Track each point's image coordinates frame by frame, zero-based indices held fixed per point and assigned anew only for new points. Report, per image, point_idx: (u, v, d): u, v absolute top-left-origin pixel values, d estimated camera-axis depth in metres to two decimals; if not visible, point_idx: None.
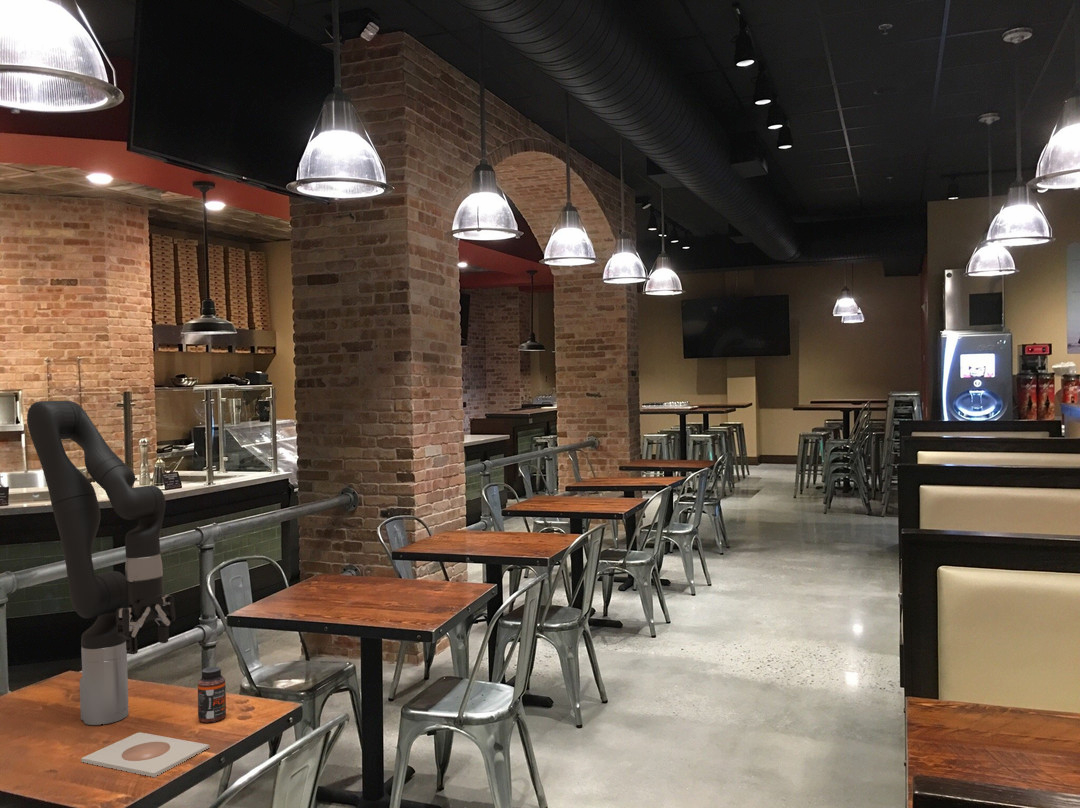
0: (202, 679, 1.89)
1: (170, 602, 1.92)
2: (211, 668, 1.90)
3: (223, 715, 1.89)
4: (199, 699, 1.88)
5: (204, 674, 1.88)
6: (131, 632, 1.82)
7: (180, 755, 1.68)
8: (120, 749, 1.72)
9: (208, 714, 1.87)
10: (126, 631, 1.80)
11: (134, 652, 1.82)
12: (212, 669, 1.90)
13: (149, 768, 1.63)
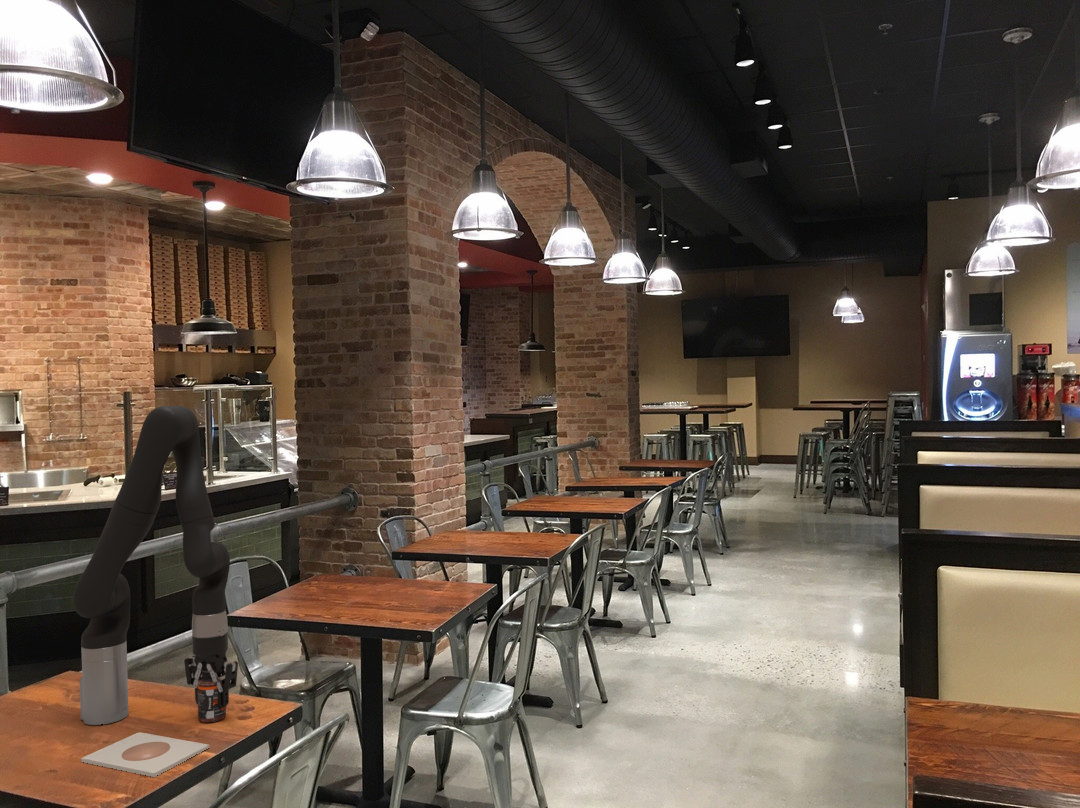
0: (202, 679, 1.89)
1: None
2: None
3: (223, 715, 1.89)
4: (199, 699, 1.88)
5: (204, 674, 1.88)
6: None
7: (180, 755, 1.68)
8: (120, 749, 1.72)
9: (208, 714, 1.87)
10: None
11: (226, 704, 1.89)
12: None
13: (149, 768, 1.63)
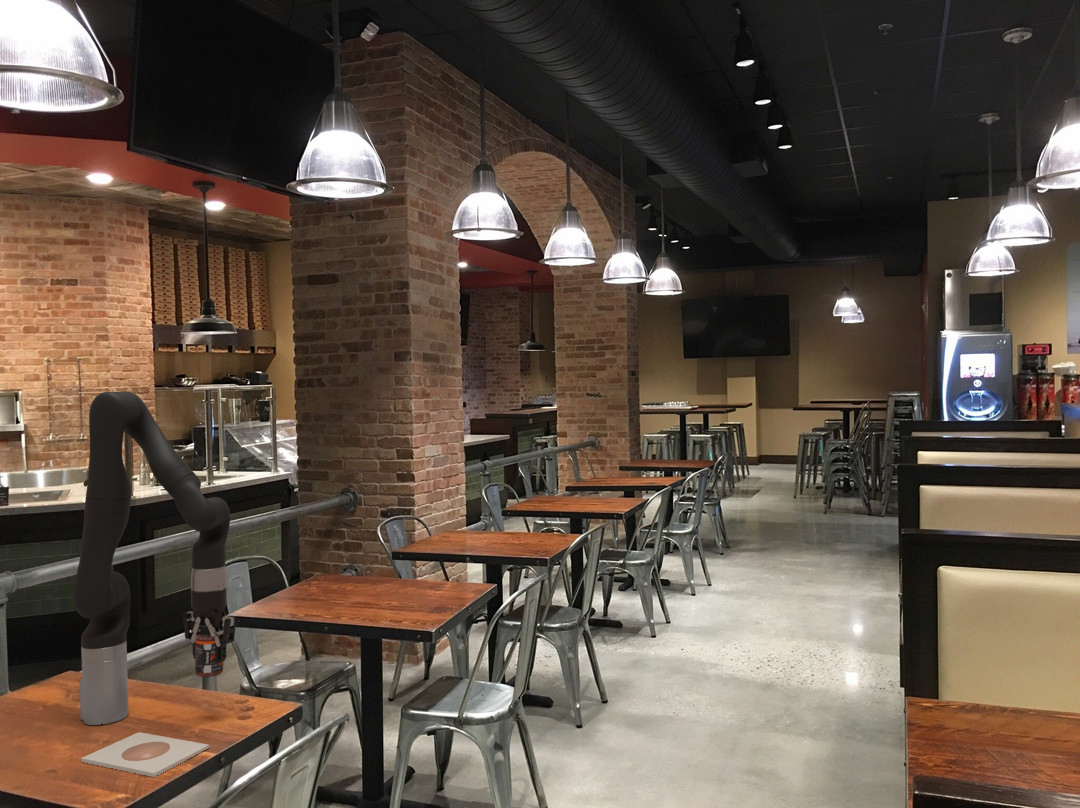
0: (200, 633, 1.89)
1: None
2: None
3: (220, 671, 1.89)
4: (197, 654, 1.88)
5: (202, 629, 1.88)
6: None
7: (180, 755, 1.68)
8: (120, 749, 1.72)
9: (206, 668, 1.87)
10: None
11: (224, 659, 1.89)
12: None
13: (149, 768, 1.63)
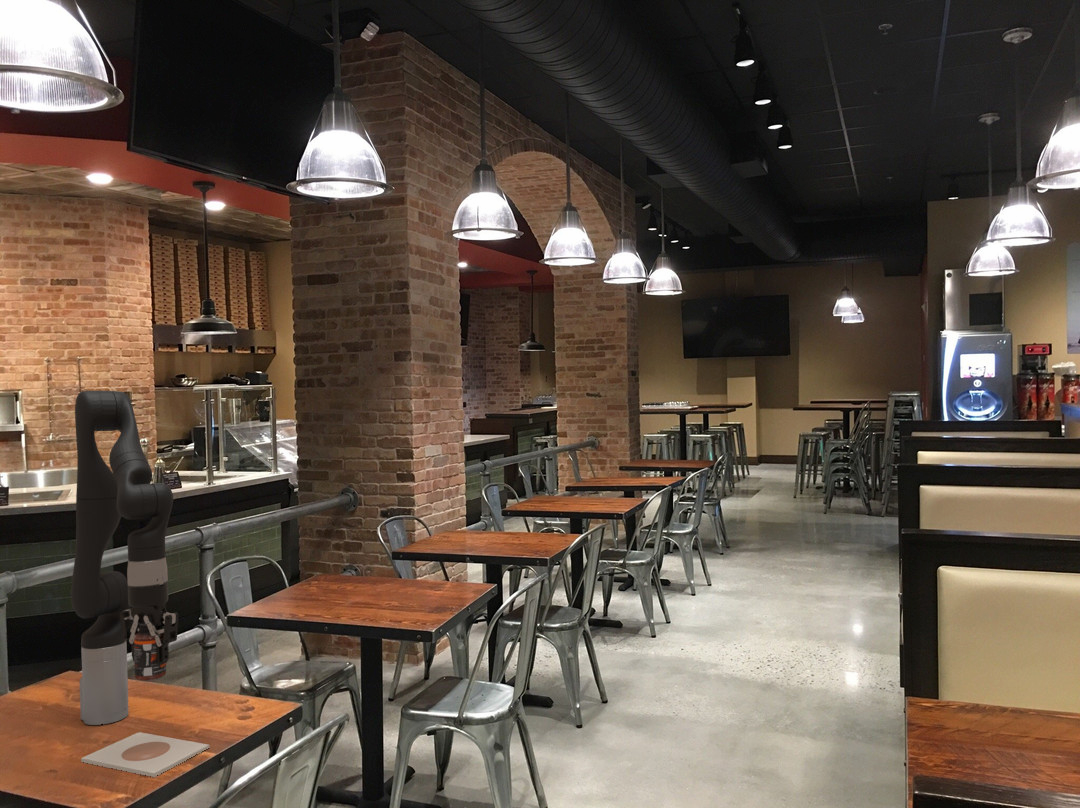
0: (139, 633, 1.71)
1: None
2: None
3: (162, 673, 1.72)
4: (136, 655, 1.70)
5: (141, 627, 1.71)
6: None
7: (180, 755, 1.68)
8: (120, 749, 1.72)
9: (146, 671, 1.69)
10: None
11: (166, 660, 1.72)
12: None
13: (149, 768, 1.63)
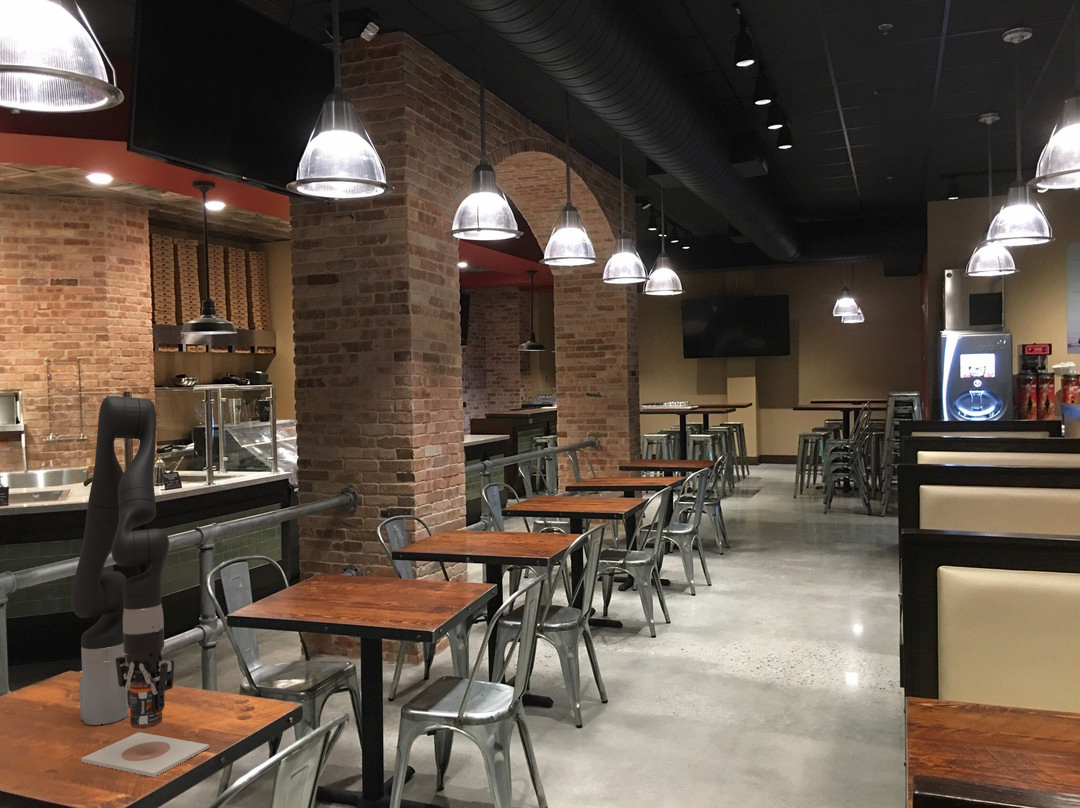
0: (135, 680, 1.70)
1: None
2: None
3: (158, 721, 1.70)
4: (131, 703, 1.69)
5: (137, 675, 1.69)
6: None
7: (180, 755, 1.68)
8: (120, 749, 1.72)
9: (141, 719, 1.68)
10: None
11: (162, 708, 1.70)
12: None
13: (149, 768, 1.63)
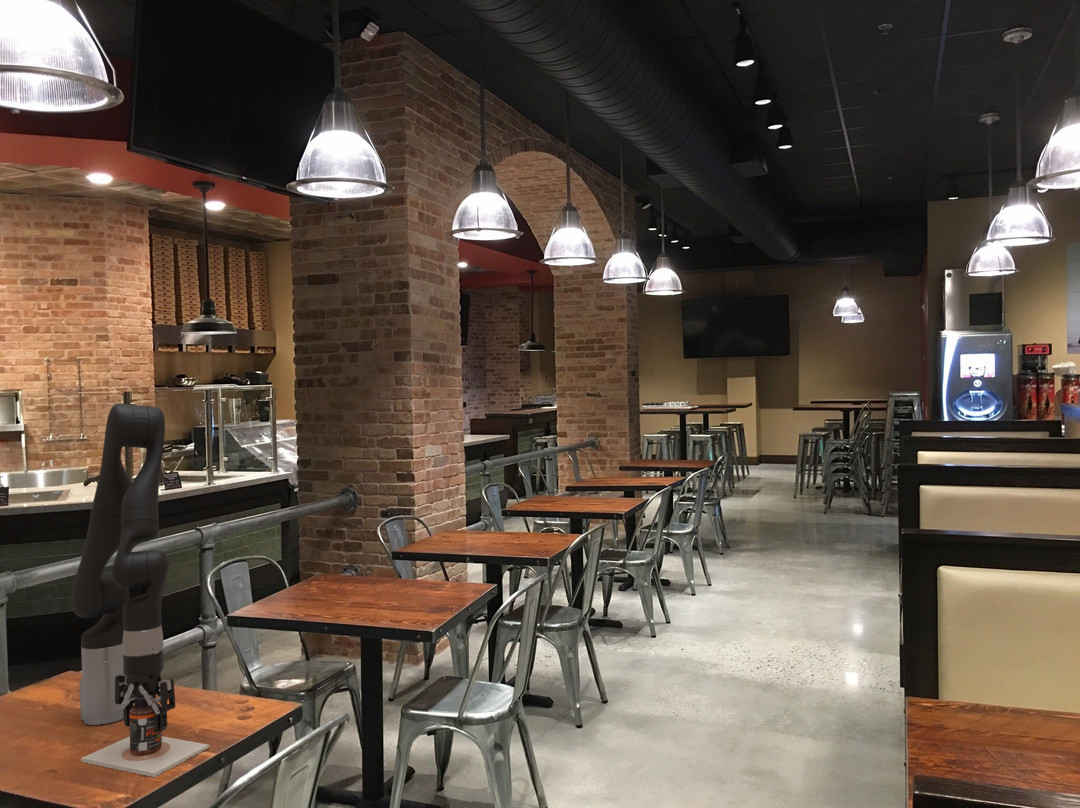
0: (134, 707, 1.70)
1: None
2: None
3: (158, 747, 1.70)
4: (131, 729, 1.69)
5: (136, 701, 1.69)
6: None
7: (180, 755, 1.68)
8: (120, 749, 1.72)
9: (141, 746, 1.68)
10: None
11: None
12: None
13: (149, 768, 1.63)
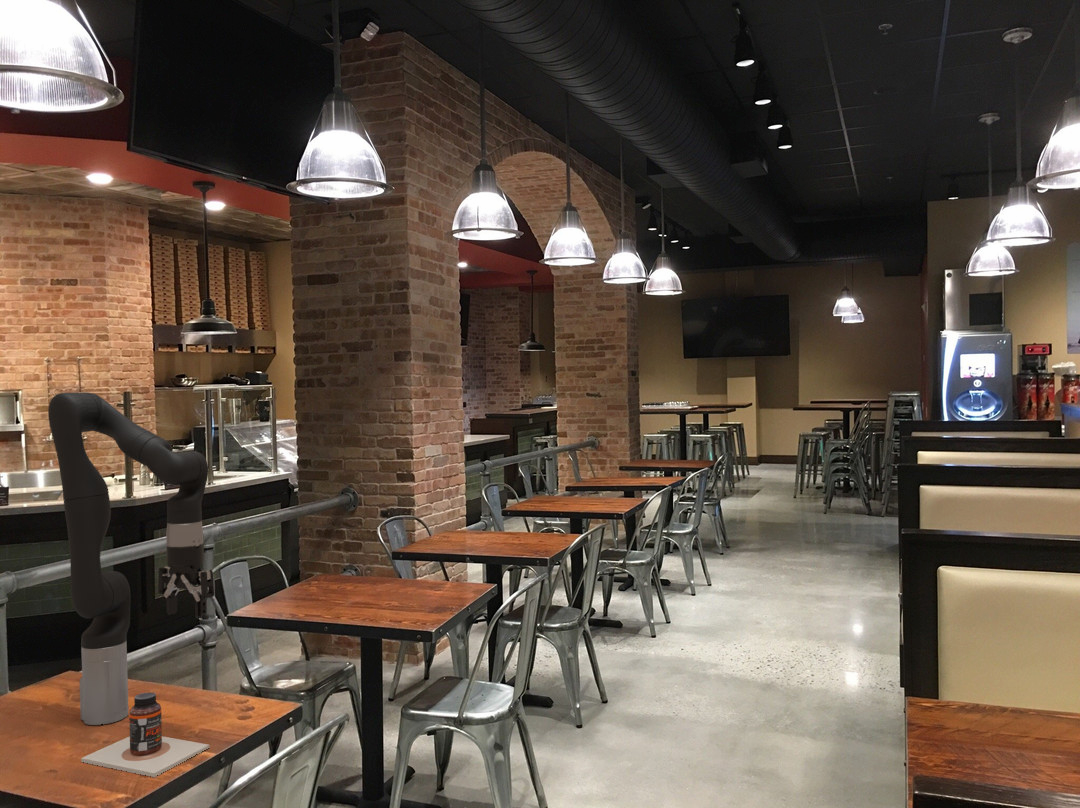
0: (134, 707, 1.70)
1: None
2: (145, 694, 1.71)
3: (158, 747, 1.70)
4: (131, 729, 1.69)
5: (136, 701, 1.69)
6: None
7: (180, 755, 1.68)
8: (120, 749, 1.72)
9: (141, 746, 1.68)
10: None
11: (204, 614, 1.83)
12: (146, 695, 1.71)
13: (149, 768, 1.63)
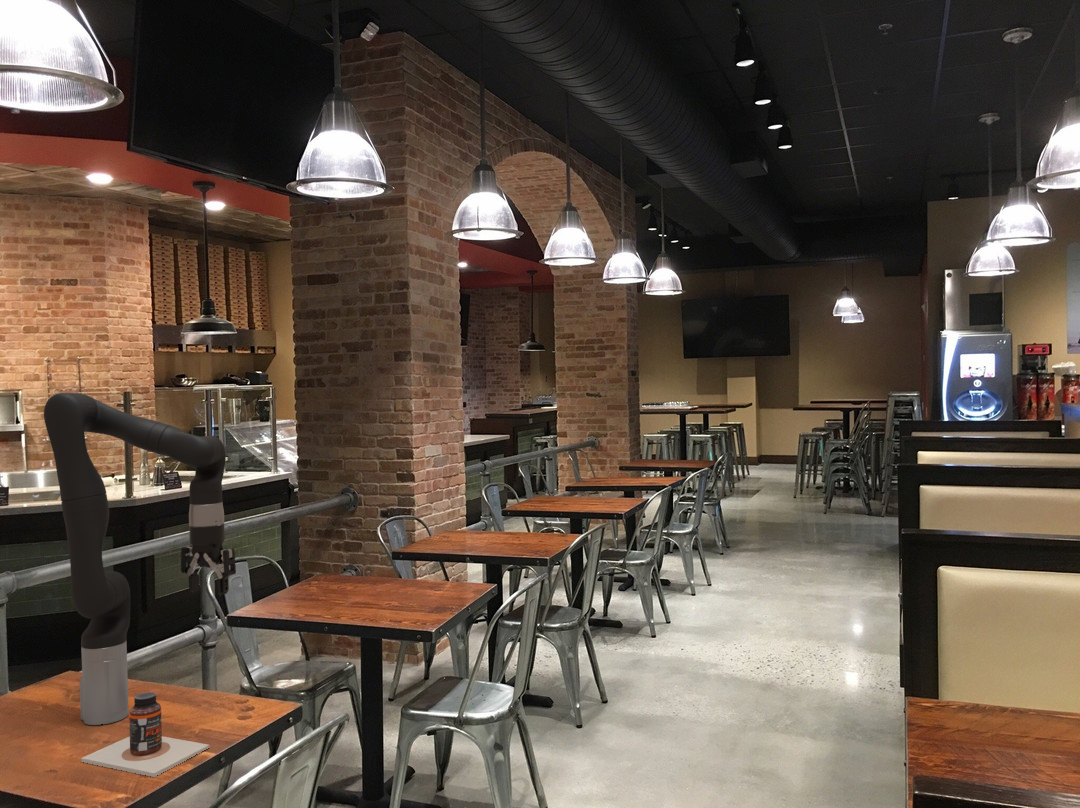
0: (134, 707, 1.70)
1: None
2: (145, 694, 1.71)
3: (158, 747, 1.70)
4: (131, 729, 1.69)
5: (136, 701, 1.69)
6: None
7: (180, 755, 1.68)
8: (120, 749, 1.72)
9: (141, 746, 1.68)
10: None
11: (226, 591, 1.92)
12: (146, 695, 1.71)
13: (149, 768, 1.63)
